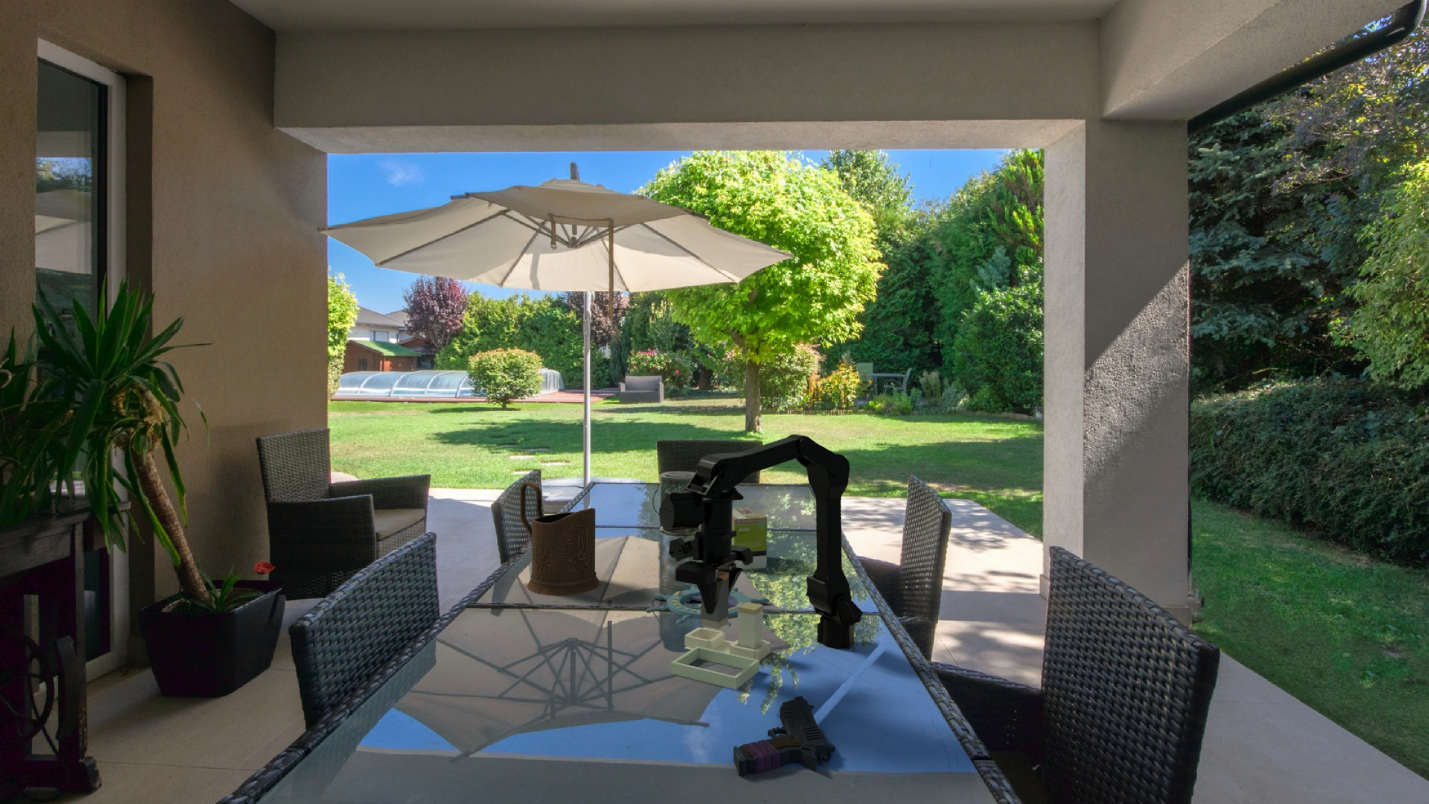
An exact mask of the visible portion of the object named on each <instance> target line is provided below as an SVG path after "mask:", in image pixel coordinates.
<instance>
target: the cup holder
mask: <svg viewBox="0 0 1429 804" xmlns="http://www.w3.org/2000/svg"><path fill="white" fill-rule="evenodd" d="M527 487H530V488H532V489H533V490H534V492H535V495H536V496H535V497H536V498H535V501H536V502H535V507H536V508H535V512H536V516H537V517H535V518H533V519H531V525H530V523H529V521H528V520H527V517H526V515H527V514H526V512H527V511H526V505H527V503H526V501H527V498H526V497H527V496H526V495H527V493H526V491H527ZM542 499H543V495H542V490H541V488H540V486H539V485H538V484H536V483H534V482H526V483H523V484H522V485H521V486H520V490H519V502H520V503H519V506H520V507H519V509H520V510H519V512H520V513H519V515H520V516H519V517H520V521H521V524H522V525H523V527H524V529H525V530H526V532H527V533H528V535H529V536H530V538H531V575H530V580H529V581H528V583H527V585H526V589H527V588H528V589H527V590H528V591H529V590H530V591H529V592H531V591H532V592H531V593H533V592H534V594H537V595H541V594H542V595H544V596H554V597H557V596H558V597H559V596H561V597H565V596H575V595H581V594H585V593H590V592H592V591H595V590H597V589H599V588H600V586H601V582H600V580H599V579H598V576H597V572H596V508H594V507H590V508H585V509H581V510H577V511H567V512H565V511H564V512H559V513H554V514H553V513H552V514H547V515H544V514H543V503H542V502H543V501H542Z"/></svg>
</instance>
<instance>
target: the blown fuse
mask: <svg viewBox="0 0 1429 804" xmlns="http://www.w3.org/2000/svg"><path fill="white" fill-rule="evenodd" d="M718 578H722V579H723V582H722V586H721V589H720V592H719V595H718V599H717V602H716V606H715V608H714V611H713V614H707V613H706V610H705V606H704V603H703V600H702V597H701V602H700V604H701V606H700V610H701V618H700V626H703V627H706V628H710V629H715V630H720V629H721V628H723V627H724V626H727V625H726V624H728V622H729V618H728V608H729V607H728V596H729V572H724V571H718Z"/></svg>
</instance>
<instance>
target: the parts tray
mask: <svg viewBox="0 0 1429 804" xmlns="http://www.w3.org/2000/svg"><path fill="white" fill-rule="evenodd" d="M698 659H699V660H703V661H707V662H712V663H716V664H720V665H724V666H728V667H734V668H737V669H741V671H740V672H738V673H737V674H736V675H731V674H726V673H722V672H720V671H719V672H718V671H716V670H715V671H714V670H710V669H706V668H703V667H698V666H694V665H690V664H692V663H693V662H695V661H696V660H698ZM759 672H760V661H759V660H756V659H752V658H747V657H743V656H738V655H734V654H729V653H725V652H721V651H716V650H712V649H707V648H703V647H698V646H697V647H695V648H693V649H692V650H689V651H687V652H685V653H684V654H682V655H681V656H679V657H678V658H676V659H675V660H672V661H671V662H670V674H671V675H675V676H678V677H682V678H686V679H691V680H695V681H699V682H702V683H703V682H704V683H707V684H711V685H715V686H720V687H722V688H726V689H732V690H734V691H735V690H736V691H737V689H739V688H740V687H742V686H743V685H744V684H746V682H748V681H749V680H750V679H752V677H754V676H756V675H757V674H758V673H759Z"/></svg>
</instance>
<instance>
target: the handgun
mask: <svg viewBox="0 0 1429 804" xmlns="http://www.w3.org/2000/svg"><path fill="white" fill-rule="evenodd" d="M814 708H815V705H813V704H812V705H810V704H809V701H808V700H806V699H805V698H804V696H803V695H801V696H799V695H798V696H795V697H794V698H793V699H790V700H787V701H784V702H782V703H781V706H780V707H779V719H780V721H781V724H782V726H781V727H779V726H776V727H775V728H774V727H772V728H769V729H768V730H767V736H768V737H770V738H769V739H761V740H757V741H754V742H752V741H751V742H749V743H748V742H747V743H743V744H741V745H738V746H737V745H735V746H733V747H732V748H733V753H732V755H733V756H732V757H733V758H732V759H733V764H734V766H735V770H736V772H737V774H738V777H740V776H741V777H744V776H746V775H747V774H751V775H752V774H759V773H764V772H769V771H771V770H776V769H779V768H781V767H784V766H786V765H790V764H798V765H801V766H803V767H804V768H806V769H808V770H809V771H812V772H814V773H817V768H818V767H817V766H818V765H817V763H822V762H824V763H826V764H827V763H829V760H830V759H831V758H832V753H835V752H836V745H835V744H832V743H830V742H829V741H828V739H827V737H826V735H825V733H824V731H823V729H820V728H819V725H818V723H817V721H816V718H815V717H814V715H813V712H812V710H813V709H814Z"/></svg>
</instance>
